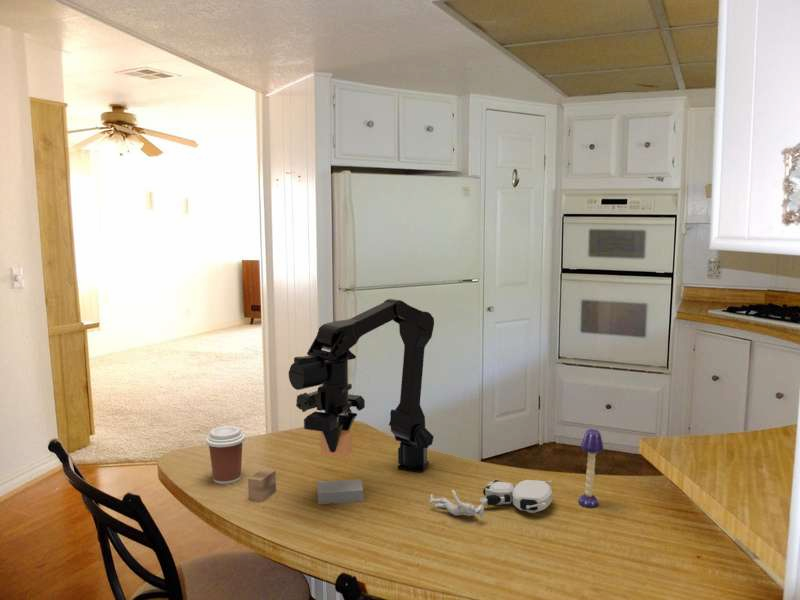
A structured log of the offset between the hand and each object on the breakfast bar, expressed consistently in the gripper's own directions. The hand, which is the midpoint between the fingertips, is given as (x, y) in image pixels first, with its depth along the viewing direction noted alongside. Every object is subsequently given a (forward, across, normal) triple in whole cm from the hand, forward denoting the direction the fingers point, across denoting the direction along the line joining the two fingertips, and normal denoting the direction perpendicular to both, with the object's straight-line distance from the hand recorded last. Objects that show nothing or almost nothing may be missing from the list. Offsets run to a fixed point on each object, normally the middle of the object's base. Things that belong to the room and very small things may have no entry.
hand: (336, 448), depth 142 cm
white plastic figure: (+11, -1, +28) cm, 30 cm away
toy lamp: (+11, -15, +54) cm, 57 cm away
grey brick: (+11, 0, +1) cm, 11 cm away
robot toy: (+11, -10, +39) cm, 42 cm away
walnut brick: (+11, +6, -16) cm, 20 cm away
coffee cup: (+11, +1, -29) cm, 31 cm away
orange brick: (+1, 0, 0) cm, 1 cm away
